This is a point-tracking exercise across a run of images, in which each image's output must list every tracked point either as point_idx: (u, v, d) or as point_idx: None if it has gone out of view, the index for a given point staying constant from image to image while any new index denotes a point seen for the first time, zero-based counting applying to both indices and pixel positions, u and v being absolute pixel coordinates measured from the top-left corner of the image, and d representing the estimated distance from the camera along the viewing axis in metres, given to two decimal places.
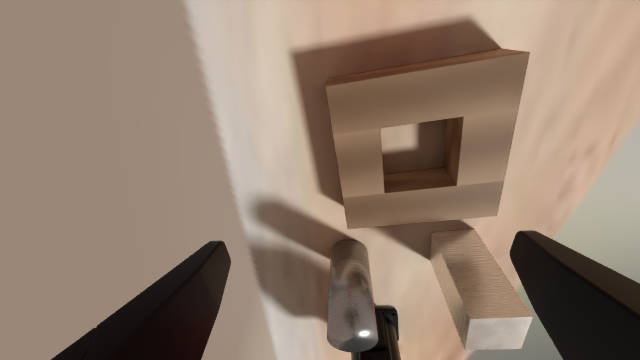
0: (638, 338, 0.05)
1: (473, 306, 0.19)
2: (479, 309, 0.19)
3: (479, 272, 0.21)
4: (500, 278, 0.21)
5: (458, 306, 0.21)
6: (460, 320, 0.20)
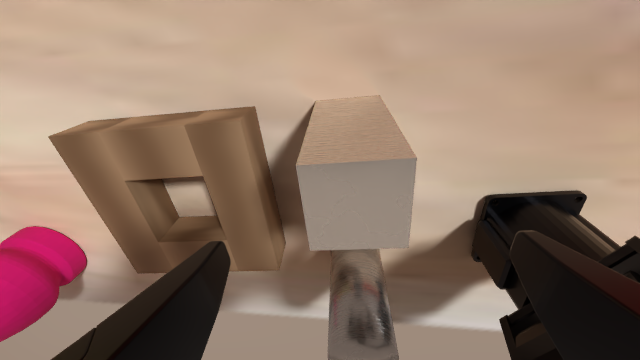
0: (638, 338, 0.05)
1: None
2: None
3: None
4: None
5: None
6: None
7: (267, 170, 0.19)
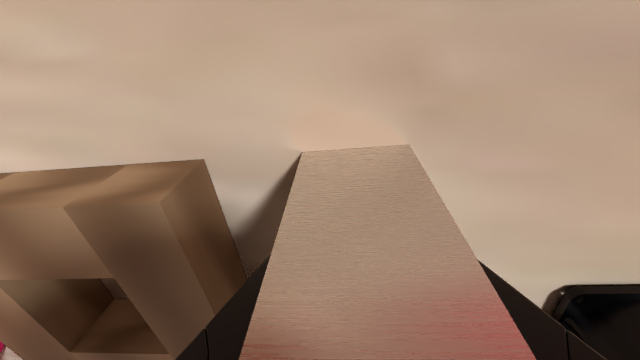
0: None
1: None
2: None
3: None
4: None
5: None
6: None
7: (230, 249, 0.12)
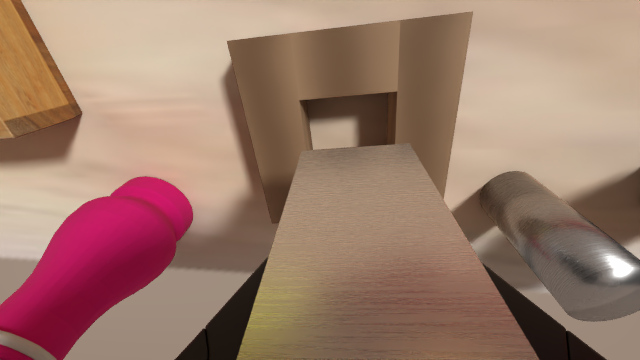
0: None
1: None
2: None
3: None
4: None
5: None
6: None
7: None
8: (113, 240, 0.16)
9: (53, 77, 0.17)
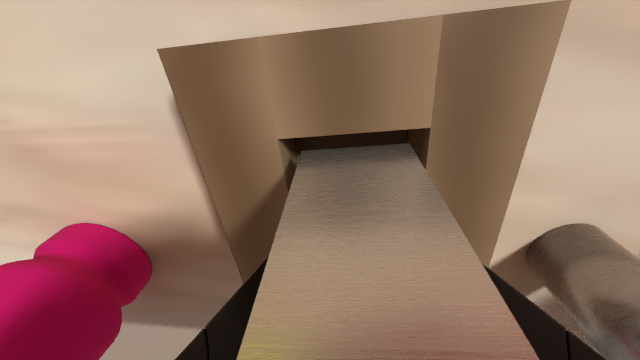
0: None
1: None
2: None
3: None
4: None
5: None
6: None
7: None
8: (8, 340, 0.11)
9: None
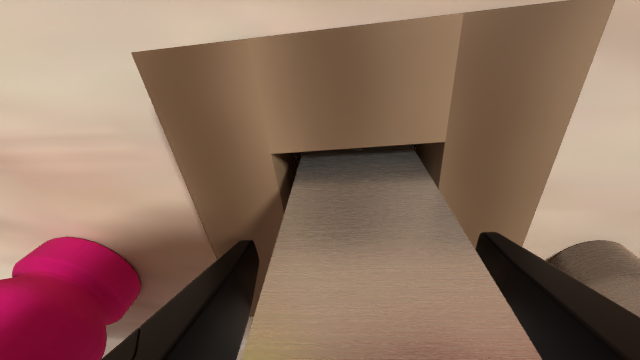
0: (576, 338, 0.05)
1: None
2: None
3: None
4: None
5: None
6: None
7: None
8: None
9: None
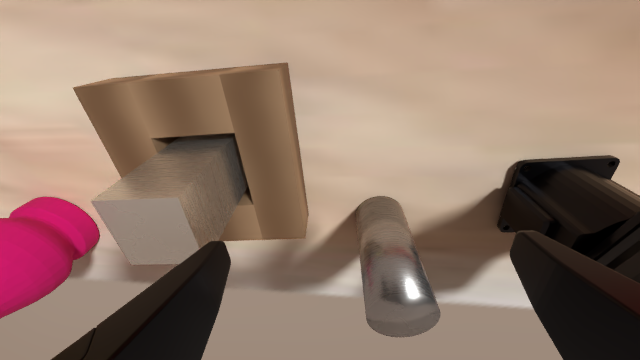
0: (638, 338, 0.05)
1: None
2: None
3: None
4: None
5: None
6: None
7: (296, 133, 0.18)
8: None
9: None
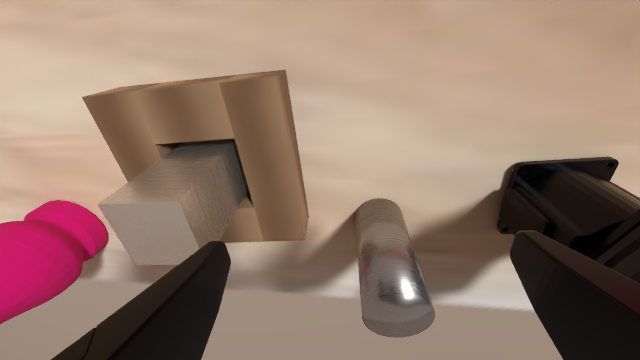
0: (638, 338, 0.05)
1: None
2: None
3: None
4: None
5: None
6: None
7: (295, 137, 0.19)
8: (5, 263, 0.18)
9: None
